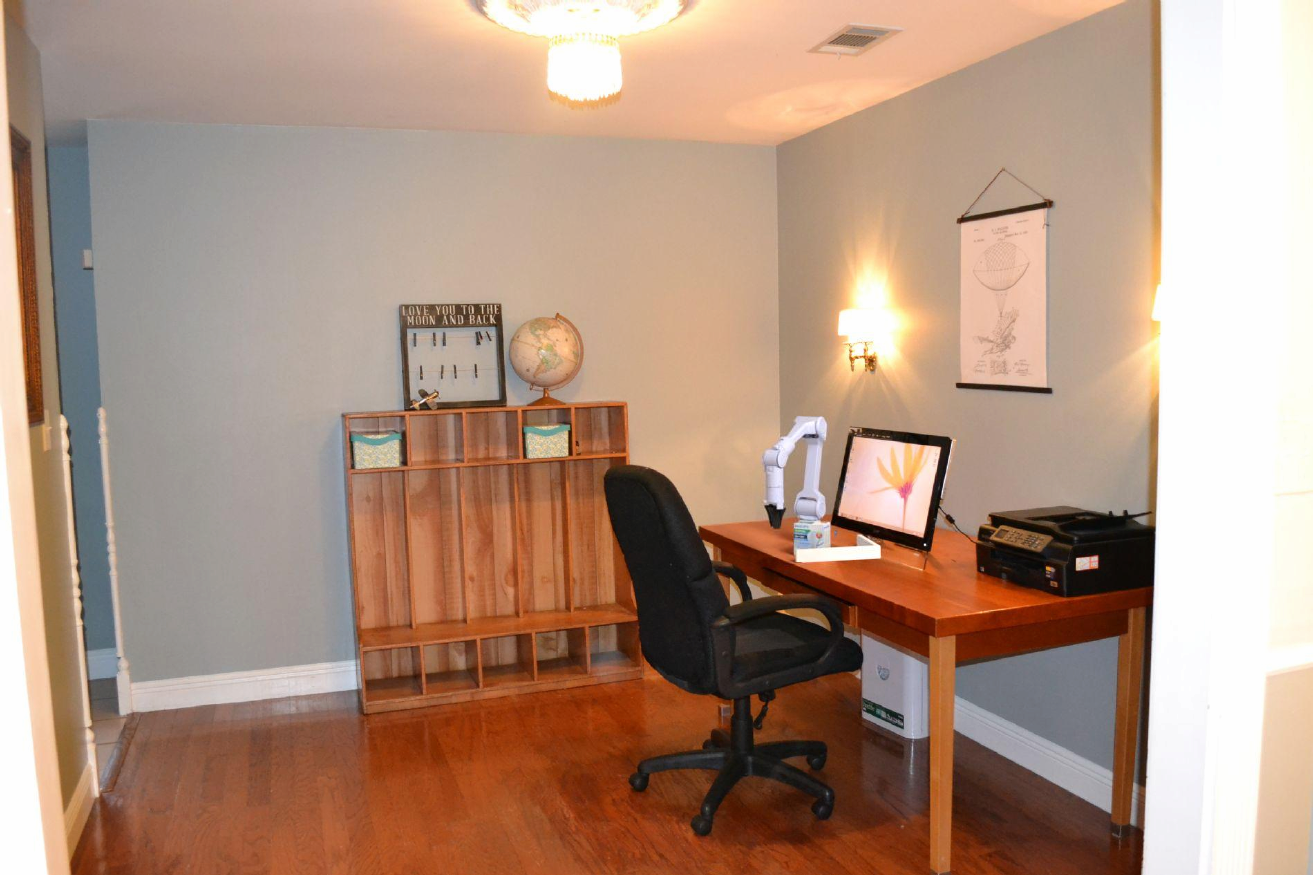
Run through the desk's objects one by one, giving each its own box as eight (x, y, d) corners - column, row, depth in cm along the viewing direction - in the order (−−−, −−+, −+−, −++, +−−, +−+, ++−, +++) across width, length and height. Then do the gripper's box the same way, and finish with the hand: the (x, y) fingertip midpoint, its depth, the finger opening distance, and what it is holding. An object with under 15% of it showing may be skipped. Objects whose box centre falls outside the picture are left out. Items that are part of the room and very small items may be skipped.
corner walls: (781, 550, 339) (781, 538, 338) (861, 546, 342) (861, 534, 342) (796, 562, 320) (796, 550, 319) (880, 558, 323) (880, 545, 322)
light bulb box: (793, 555, 330) (792, 523, 329) (800, 551, 336) (799, 519, 335) (824, 558, 325) (824, 525, 324) (831, 554, 331) (830, 521, 330)
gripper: (757, 483, 335) (758, 524, 336) (767, 490, 321) (768, 532, 322) (778, 482, 336) (779, 523, 337) (789, 489, 321) (789, 531, 323)
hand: (775, 527), depth 330 cm, fingers open, 4 cm apart
